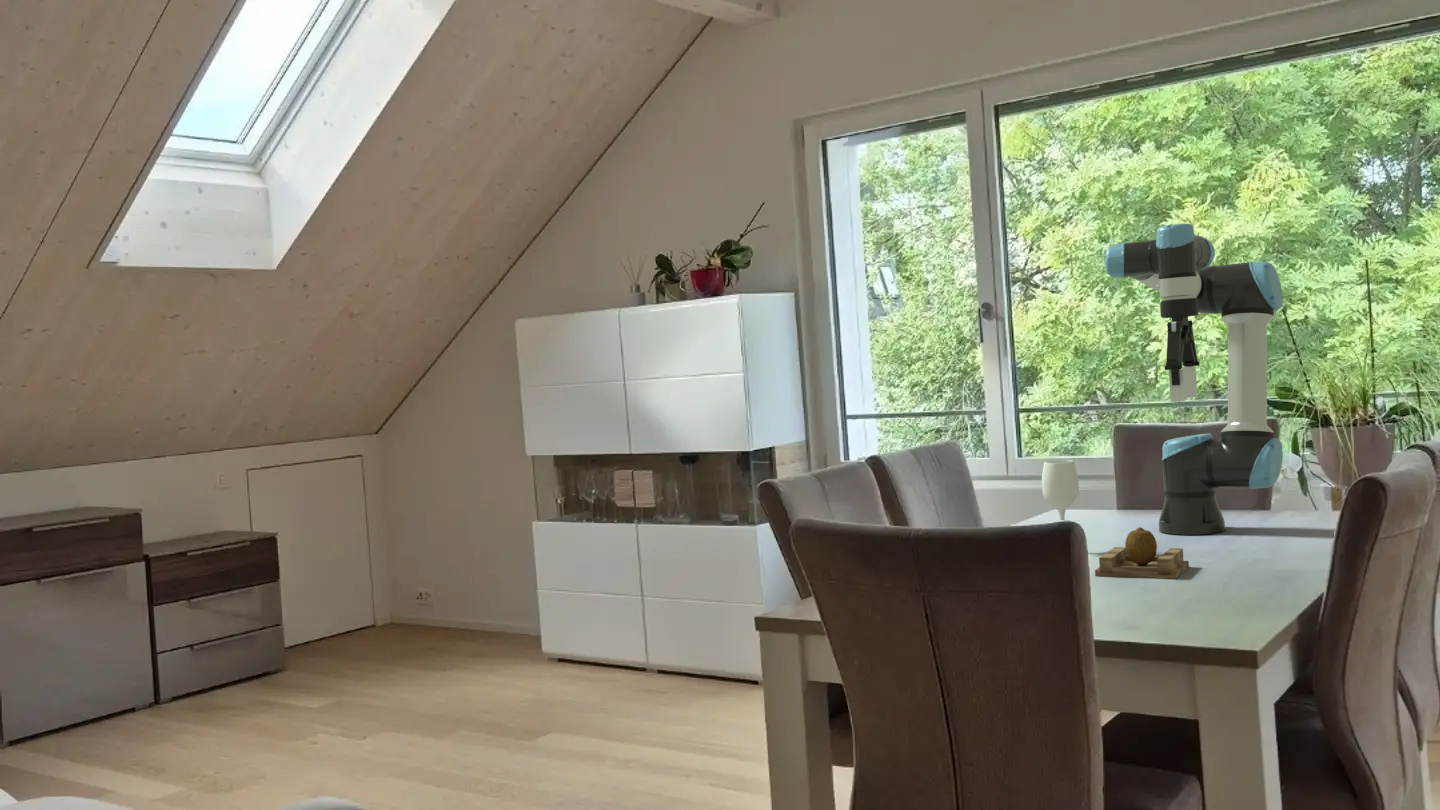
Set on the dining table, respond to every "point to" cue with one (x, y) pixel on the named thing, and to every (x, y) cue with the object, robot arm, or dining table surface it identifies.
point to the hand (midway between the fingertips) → (1184, 399)
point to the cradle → (1159, 567)
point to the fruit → (1141, 546)
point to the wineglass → (1060, 484)
